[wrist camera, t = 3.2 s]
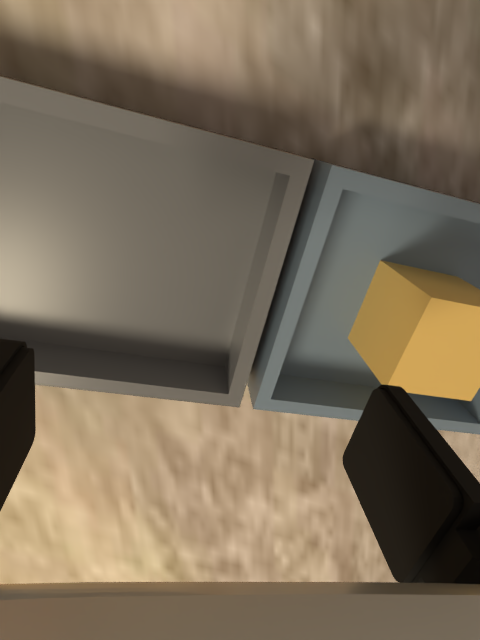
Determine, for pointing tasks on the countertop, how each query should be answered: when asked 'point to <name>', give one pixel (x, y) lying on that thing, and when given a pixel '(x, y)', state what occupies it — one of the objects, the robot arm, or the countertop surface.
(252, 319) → the charcoal tray
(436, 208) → the slate-blue tray
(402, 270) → the ochre block
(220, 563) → the countertop surface
